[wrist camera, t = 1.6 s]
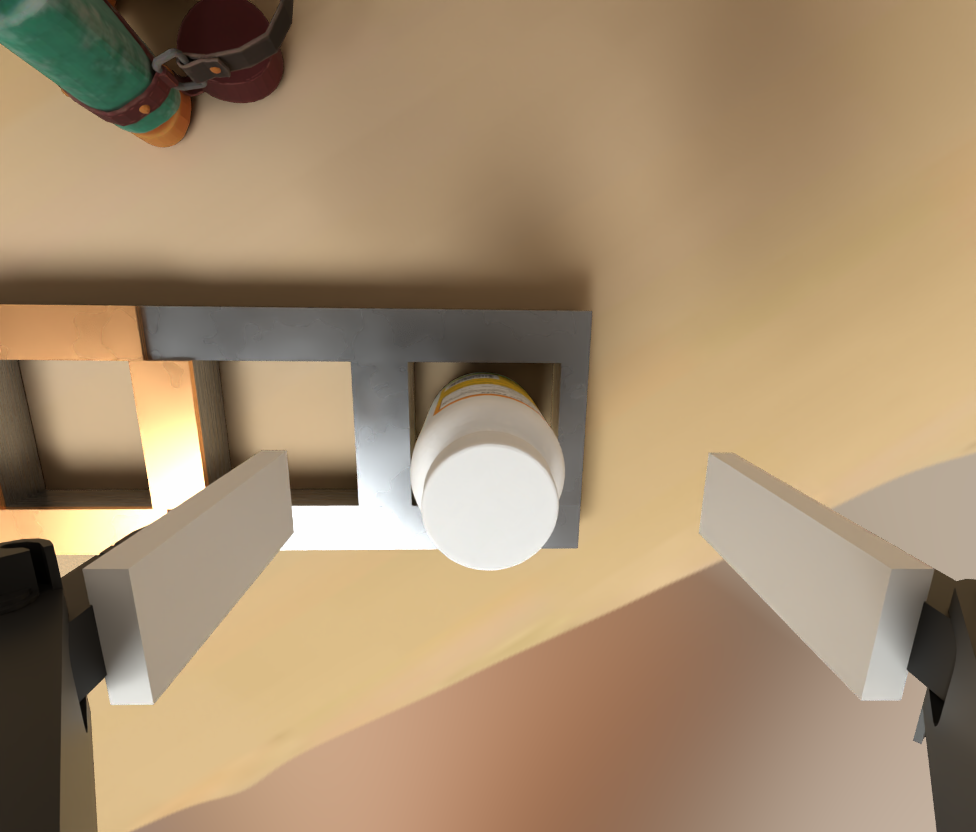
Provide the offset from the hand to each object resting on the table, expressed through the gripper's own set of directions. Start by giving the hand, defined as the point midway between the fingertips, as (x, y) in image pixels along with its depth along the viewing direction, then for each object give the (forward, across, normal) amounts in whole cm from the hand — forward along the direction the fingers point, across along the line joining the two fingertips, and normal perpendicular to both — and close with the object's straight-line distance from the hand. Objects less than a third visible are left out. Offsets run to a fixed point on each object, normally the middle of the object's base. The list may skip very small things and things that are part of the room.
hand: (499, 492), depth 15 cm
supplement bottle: (+9, 0, 0) cm, 9 cm away
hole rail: (+8, -9, 0) cm, 12 cm away
